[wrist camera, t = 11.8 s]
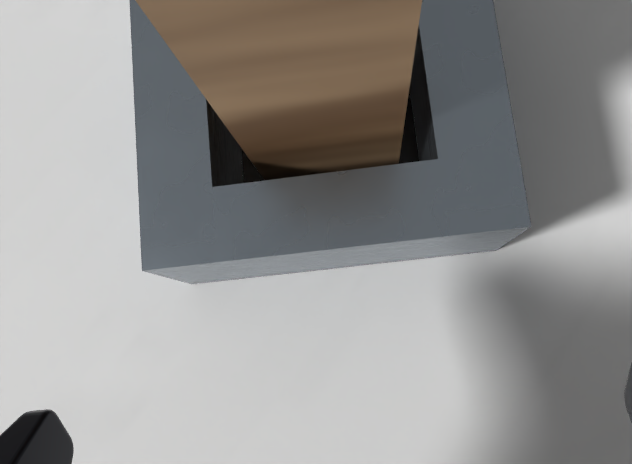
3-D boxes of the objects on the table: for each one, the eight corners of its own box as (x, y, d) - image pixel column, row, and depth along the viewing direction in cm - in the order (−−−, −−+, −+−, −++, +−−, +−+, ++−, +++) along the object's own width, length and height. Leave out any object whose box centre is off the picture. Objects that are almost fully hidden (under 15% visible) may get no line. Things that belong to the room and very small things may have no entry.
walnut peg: (397, 174, 18) (450, -198, 5) (271, 189, 18) (43, -127, 6) (381, 56, 19) (397, -516, 6) (261, 73, 19) (39, -437, 6)
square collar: (496, 250, 17) (531, 226, 14) (192, 283, 18) (141, 270, 14) (451, -30, 19) (471, -124, 15) (175, 11, 20) (126, -68, 16)
